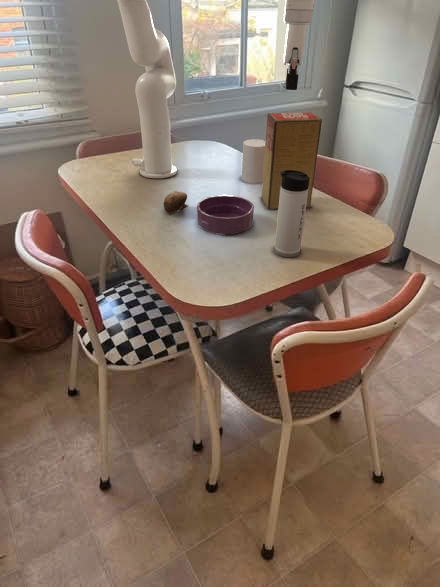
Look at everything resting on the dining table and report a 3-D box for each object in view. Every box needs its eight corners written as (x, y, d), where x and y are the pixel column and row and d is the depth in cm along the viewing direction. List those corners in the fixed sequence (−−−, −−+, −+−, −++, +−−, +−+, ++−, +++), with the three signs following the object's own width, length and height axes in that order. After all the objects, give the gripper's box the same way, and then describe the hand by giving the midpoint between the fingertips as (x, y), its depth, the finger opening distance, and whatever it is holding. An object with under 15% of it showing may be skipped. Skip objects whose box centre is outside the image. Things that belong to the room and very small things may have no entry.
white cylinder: (265, 175, 152) (268, 139, 145) (265, 184, 146) (268, 147, 139) (242, 174, 153) (244, 138, 146) (240, 182, 146) (242, 146, 139)
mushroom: (198, 198, 127) (184, 182, 123) (188, 218, 123) (174, 202, 119) (178, 204, 132) (165, 189, 128) (169, 224, 128) (154, 209, 124)
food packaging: (301, 195, 138) (312, 111, 124) (311, 207, 130) (324, 119, 116) (260, 197, 136) (266, 112, 122) (267, 210, 129) (275, 120, 114)
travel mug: (270, 245, 111) (278, 167, 100) (296, 245, 112) (306, 167, 100) (275, 258, 106) (283, 177, 95) (302, 257, 107) (313, 177, 95)
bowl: (192, 233, 116) (192, 215, 113) (202, 209, 128) (202, 193, 125) (250, 238, 114) (251, 220, 111) (254, 213, 127) (256, 197, 124)
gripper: (284, 15, 127) (278, 80, 137) (283, 19, 113) (277, 91, 122) (310, 16, 126) (303, 81, 136) (313, 20, 112) (304, 93, 122)
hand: (291, 86), depth 129 cm, fingers open, 9 cm apart
